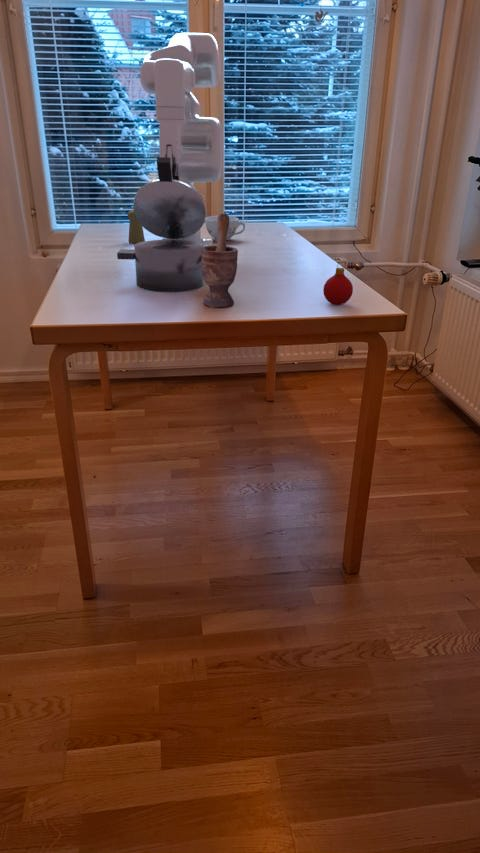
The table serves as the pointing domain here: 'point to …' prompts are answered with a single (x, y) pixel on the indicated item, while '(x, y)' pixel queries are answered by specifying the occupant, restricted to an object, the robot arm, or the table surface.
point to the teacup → (233, 225)
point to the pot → (166, 264)
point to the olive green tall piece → (135, 229)
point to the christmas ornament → (338, 288)
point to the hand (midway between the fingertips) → (173, 191)
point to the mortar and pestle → (219, 267)
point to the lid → (169, 205)
